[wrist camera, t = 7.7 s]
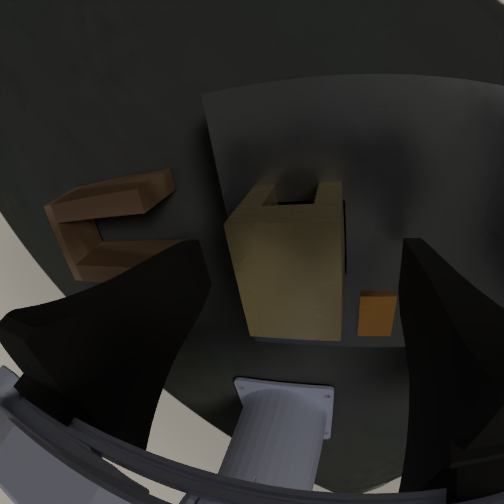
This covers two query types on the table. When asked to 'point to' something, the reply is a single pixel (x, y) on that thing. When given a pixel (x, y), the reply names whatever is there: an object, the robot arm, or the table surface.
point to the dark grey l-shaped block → (375, 176)
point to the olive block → (290, 263)
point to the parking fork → (107, 205)
